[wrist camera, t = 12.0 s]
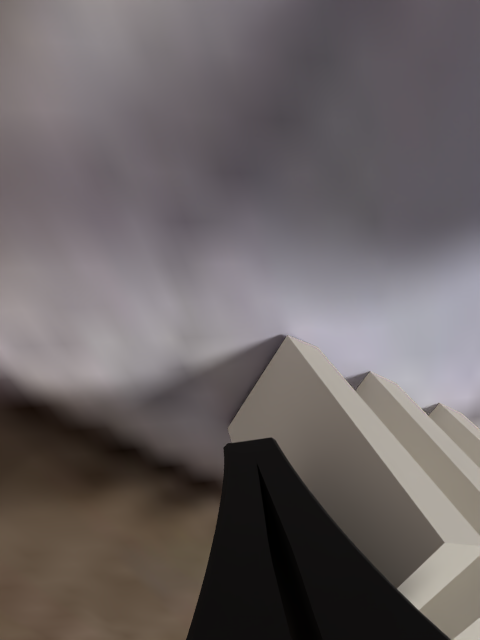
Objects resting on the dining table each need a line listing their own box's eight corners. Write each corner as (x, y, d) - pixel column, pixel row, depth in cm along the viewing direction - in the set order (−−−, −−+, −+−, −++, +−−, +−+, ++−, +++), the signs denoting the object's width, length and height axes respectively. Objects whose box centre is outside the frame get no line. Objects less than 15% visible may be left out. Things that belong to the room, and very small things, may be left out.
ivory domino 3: (461, 412, 17) (669, 597, 10) (398, 481, 18) (538, 687, 11) (439, 403, 16) (642, 590, 9) (377, 474, 18) (508, 684, 11)
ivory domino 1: (317, 347, 14) (488, 547, 7) (257, 435, 15) (351, 670, 9) (287, 335, 13) (444, 542, 6) (227, 428, 15) (303, 678, 8)
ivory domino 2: (396, 383, 15) (583, 574, 8) (334, 460, 17) (446, 680, 10) (370, 371, 15) (544, 563, 8) (308, 452, 16) (406, 677, 9)
